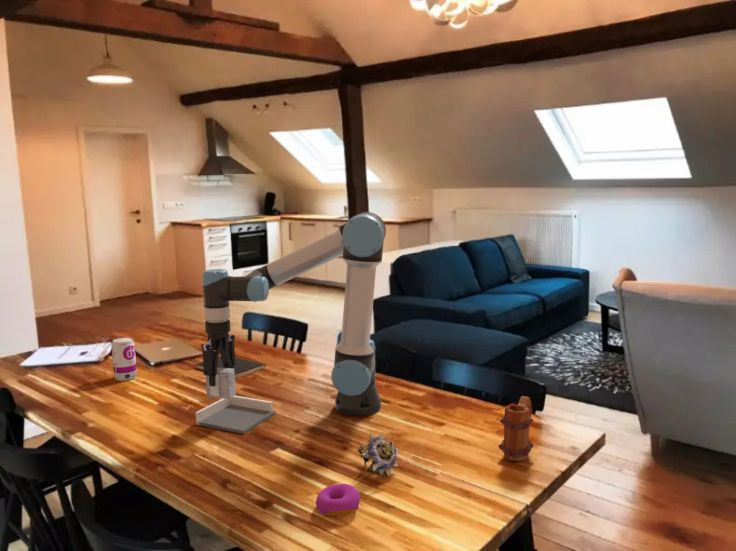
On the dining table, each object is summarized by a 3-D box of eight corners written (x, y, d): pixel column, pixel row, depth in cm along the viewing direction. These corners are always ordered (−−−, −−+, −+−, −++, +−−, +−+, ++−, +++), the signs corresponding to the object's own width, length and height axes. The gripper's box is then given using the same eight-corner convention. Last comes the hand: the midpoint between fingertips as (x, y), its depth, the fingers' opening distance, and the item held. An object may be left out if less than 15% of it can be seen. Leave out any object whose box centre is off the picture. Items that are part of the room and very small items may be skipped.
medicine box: (236, 394, 200) (234, 368, 199) (230, 399, 196) (228, 372, 194) (212, 393, 202) (211, 366, 200) (206, 398, 197) (205, 371, 196)
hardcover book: (235, 379, 241) (235, 374, 241) (196, 369, 255) (195, 363, 254) (265, 368, 254) (265, 363, 254) (226, 359, 268) (226, 354, 267)
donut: (321, 496, 153) (320, 479, 152) (363, 498, 152) (362, 481, 151) (312, 519, 143) (311, 501, 142) (357, 522, 142) (356, 503, 141)
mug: (524, 468, 165) (526, 413, 163) (495, 461, 170) (495, 407, 167) (541, 447, 178) (543, 395, 175) (513, 441, 182) (514, 390, 179)
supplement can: (141, 376, 245) (138, 338, 243) (123, 382, 239) (120, 344, 236) (128, 373, 250) (125, 336, 247) (109, 379, 243) (106, 341, 240)
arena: (275, 414, 205) (275, 402, 204) (244, 433, 190) (243, 421, 189) (230, 406, 213) (229, 394, 212) (196, 424, 198) (195, 412, 197)
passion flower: (387, 494, 164) (379, 472, 156) (353, 477, 169) (343, 454, 161) (409, 458, 170) (402, 435, 162) (375, 443, 175) (366, 419, 167)
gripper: (226, 312, 204) (229, 382, 208) (187, 325, 188) (191, 400, 192) (245, 314, 201) (248, 385, 205) (207, 327, 185) (211, 404, 189)
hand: (221, 392), depth 198 cm, fingers closed on medicine box, 5 cm apart
